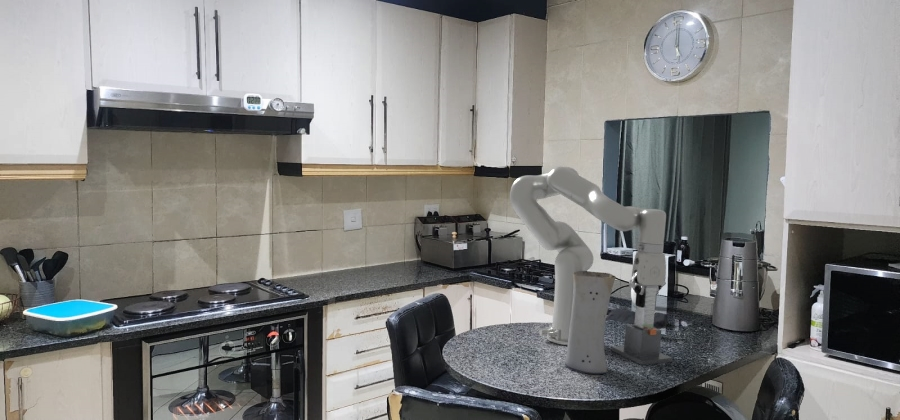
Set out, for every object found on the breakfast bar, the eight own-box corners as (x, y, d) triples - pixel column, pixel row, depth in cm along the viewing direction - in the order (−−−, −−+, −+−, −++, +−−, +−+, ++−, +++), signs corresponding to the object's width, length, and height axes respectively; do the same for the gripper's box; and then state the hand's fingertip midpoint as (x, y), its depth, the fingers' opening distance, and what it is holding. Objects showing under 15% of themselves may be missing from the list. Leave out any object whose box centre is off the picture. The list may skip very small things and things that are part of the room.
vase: (618, 372, 176) (628, 277, 174) (585, 378, 168) (594, 278, 167) (586, 359, 187) (594, 269, 185) (552, 364, 179) (561, 270, 178)
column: (643, 335, 188) (647, 285, 187) (633, 331, 193) (637, 282, 191) (653, 335, 190) (657, 285, 189) (643, 331, 194) (647, 282, 193)
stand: (641, 364, 183) (643, 333, 183) (611, 350, 196) (614, 320, 195) (671, 361, 188) (674, 330, 187) (641, 347, 201) (643, 318, 200)
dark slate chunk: (616, 313, 250) (617, 302, 250) (671, 323, 238) (672, 311, 237) (603, 320, 237) (604, 308, 237) (660, 331, 225) (661, 319, 225)
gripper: (637, 250, 183) (632, 310, 184) (679, 250, 189) (674, 308, 191) (620, 246, 189) (616, 304, 191) (662, 246, 196) (657, 302, 198)
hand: (645, 305), depth 191 cm, fingers closed on column, 4 cm apart
